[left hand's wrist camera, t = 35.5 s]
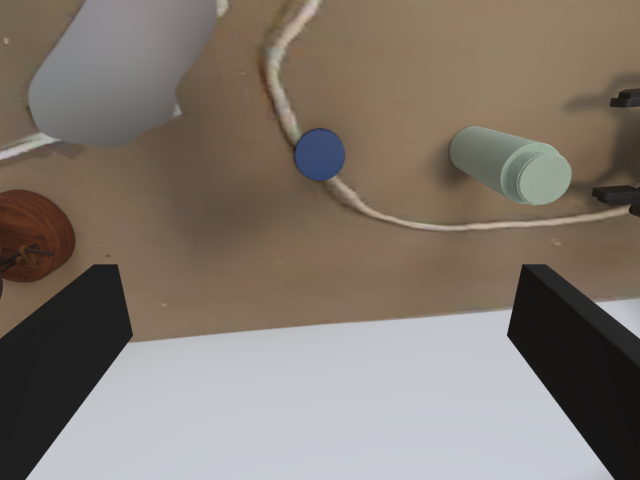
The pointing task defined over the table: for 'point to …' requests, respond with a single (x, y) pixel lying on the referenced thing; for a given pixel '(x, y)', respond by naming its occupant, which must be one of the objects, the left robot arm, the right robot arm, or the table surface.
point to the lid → (319, 154)
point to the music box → (31, 237)
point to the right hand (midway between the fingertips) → (606, 150)
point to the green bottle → (511, 165)
